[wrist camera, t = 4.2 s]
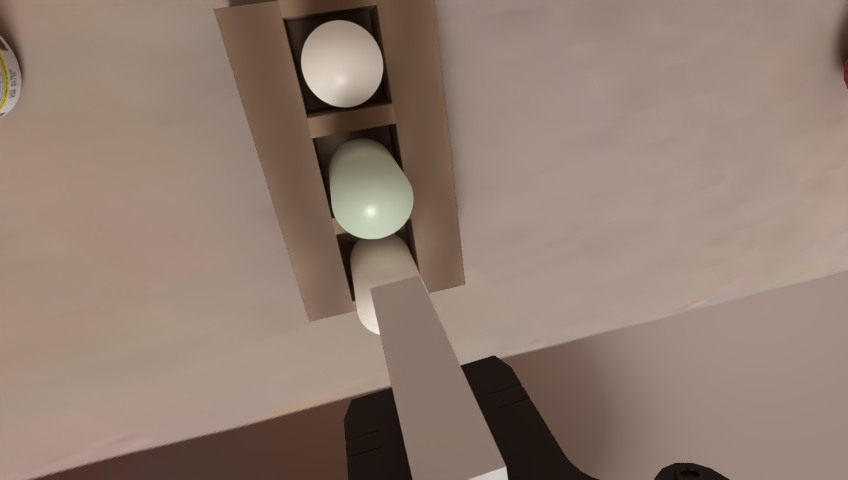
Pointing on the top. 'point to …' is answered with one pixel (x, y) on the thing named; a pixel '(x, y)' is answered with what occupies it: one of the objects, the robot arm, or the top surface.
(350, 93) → the white egg
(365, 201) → the pale green egg
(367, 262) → the cream egg
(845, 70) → the onion
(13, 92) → the supplement bottle
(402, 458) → the robot arm
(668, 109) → the top surface
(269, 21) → the socket block
